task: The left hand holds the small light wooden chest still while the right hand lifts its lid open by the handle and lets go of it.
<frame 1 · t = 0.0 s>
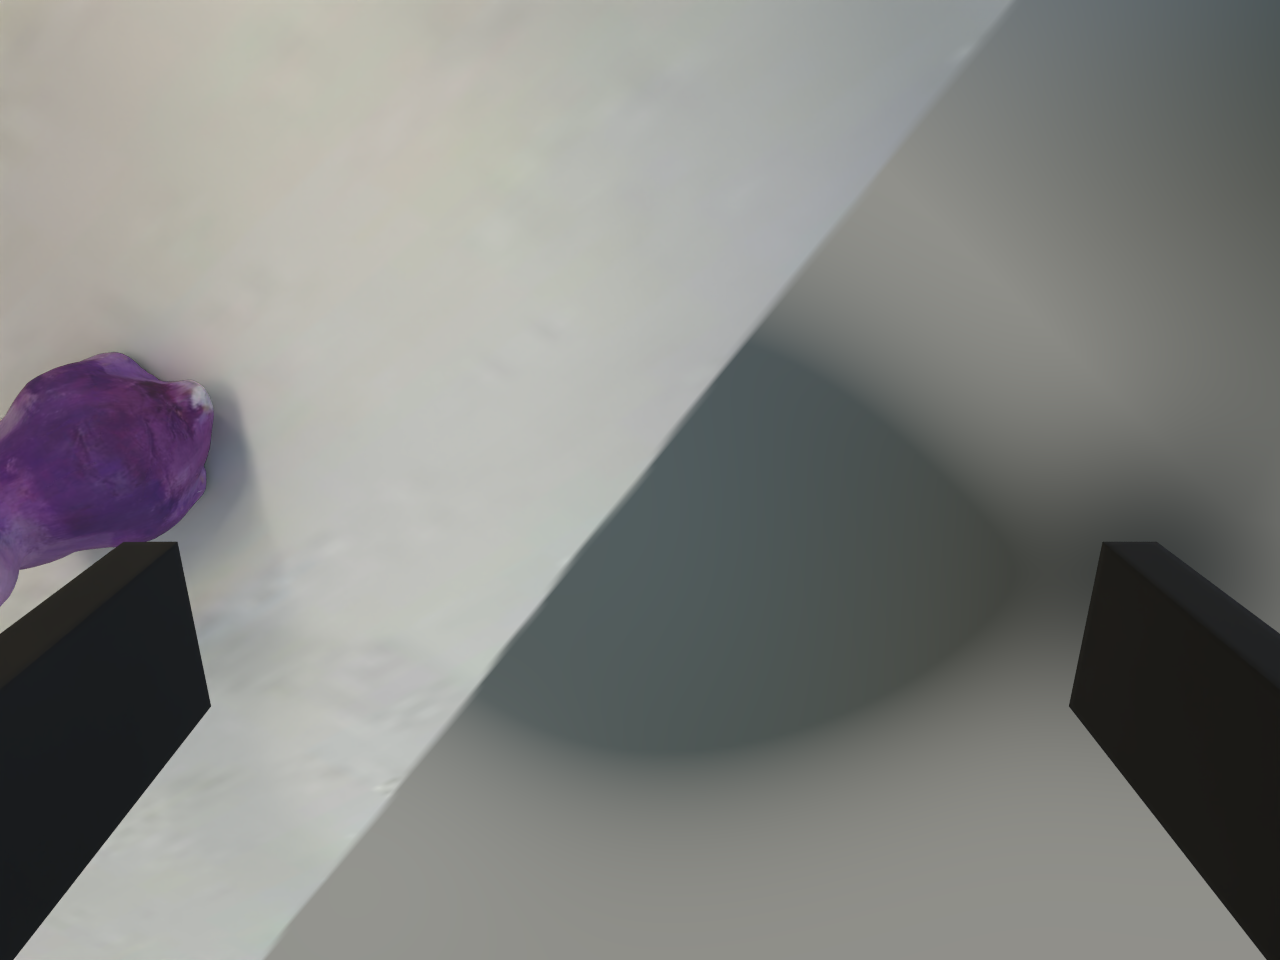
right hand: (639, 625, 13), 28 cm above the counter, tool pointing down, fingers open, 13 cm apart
figurine: (127, 452, 41), on the counter
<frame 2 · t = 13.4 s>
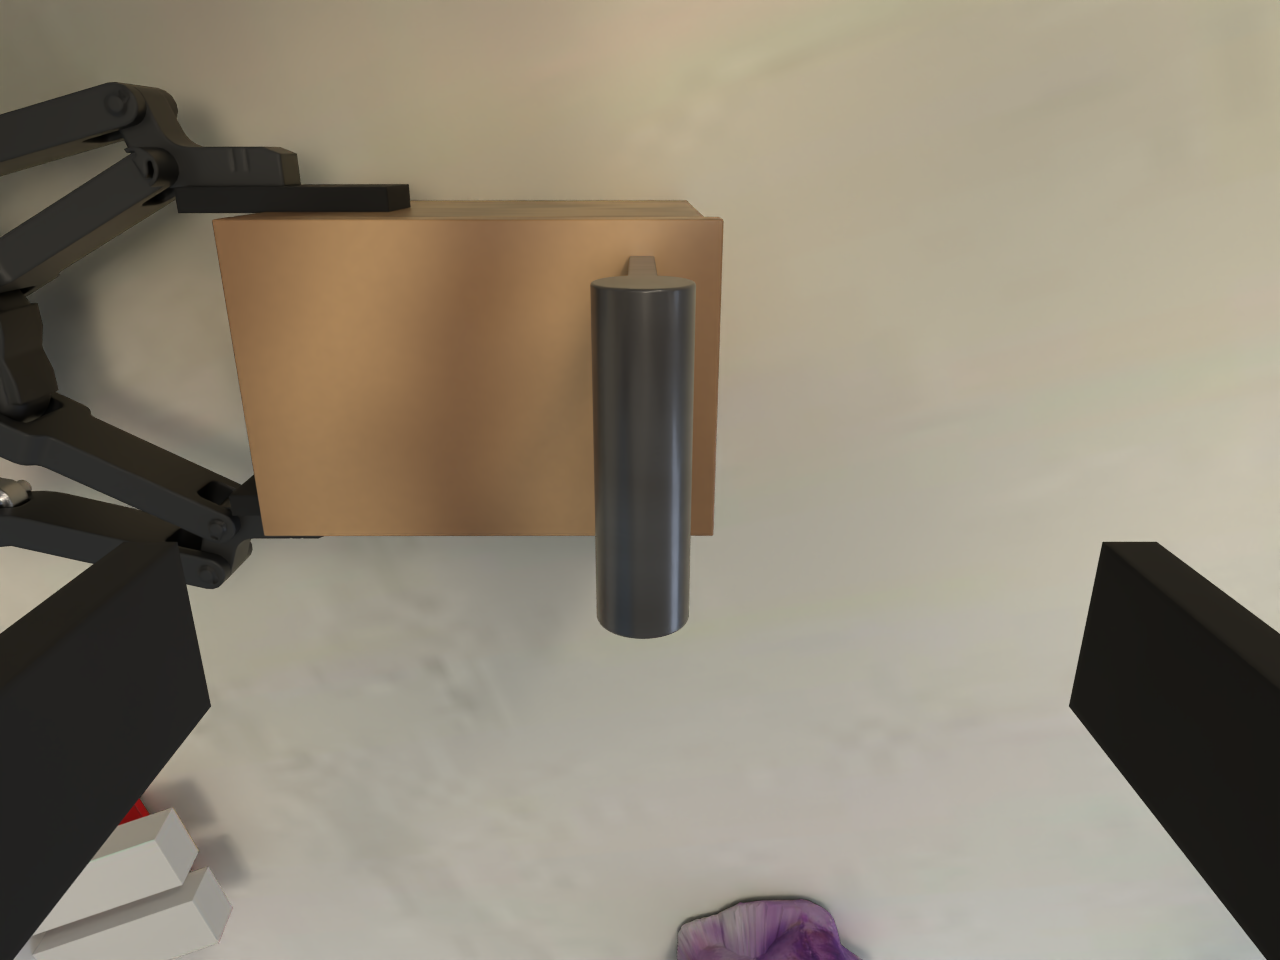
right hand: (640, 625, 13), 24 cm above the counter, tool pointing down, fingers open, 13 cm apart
left hand: (413, 353, 30), fingers closed on chest, 9 cm apart
chest: (519, 321, 35), on the counter, touching left hand
figurine: (755, 951, 47), on the counter
lid: (457, 419, 22), point 14 cm above the counter, hinge at 0.0°
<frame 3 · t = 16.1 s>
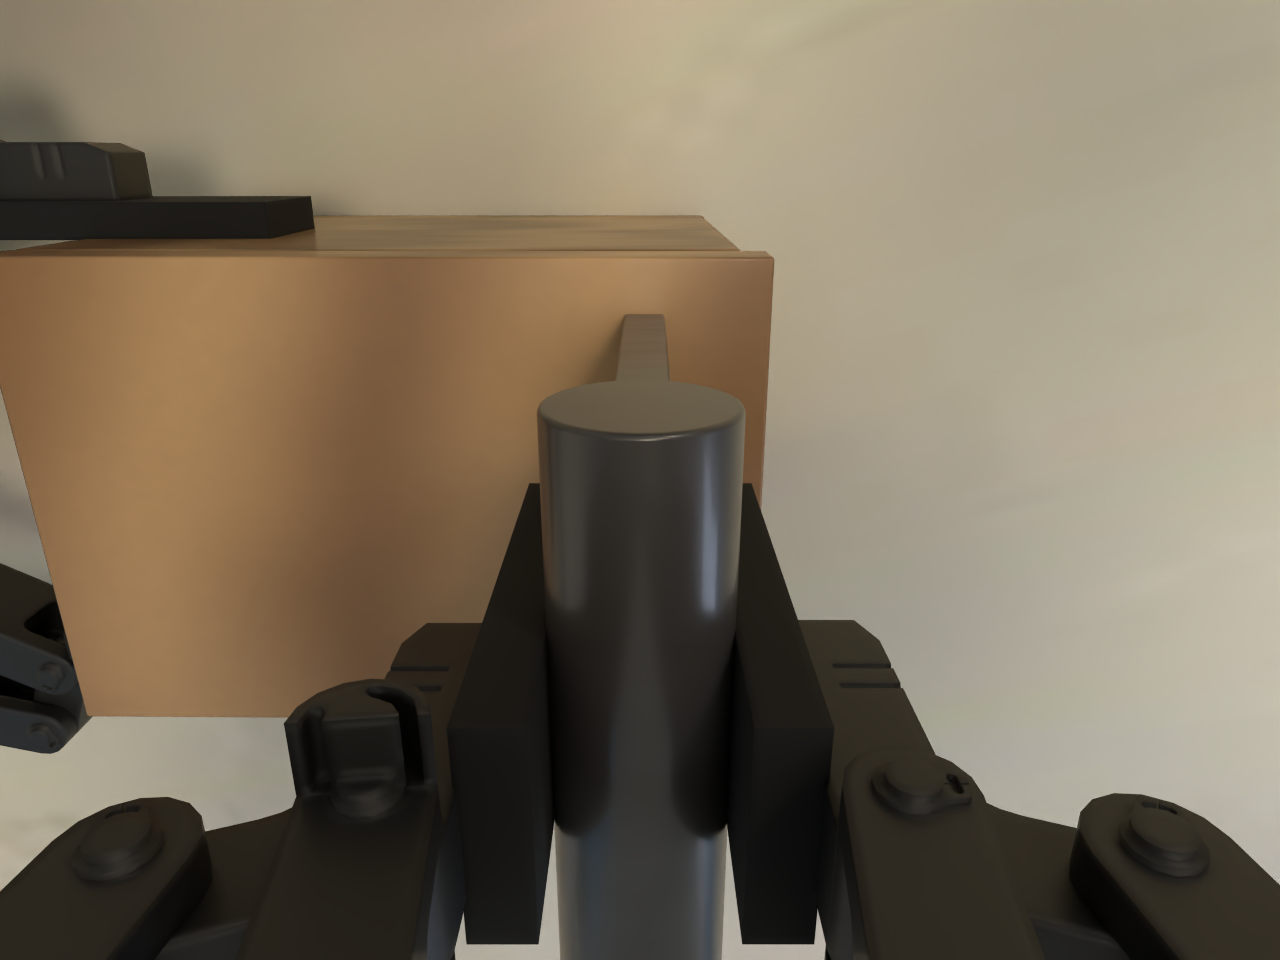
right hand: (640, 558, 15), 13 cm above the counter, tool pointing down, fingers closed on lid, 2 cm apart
chest: (479, 374, 27), on the counter, touching left hand
lid: (338, 590, 13), point 14 cm above the counter, hinge at 1.1°, touching right hand
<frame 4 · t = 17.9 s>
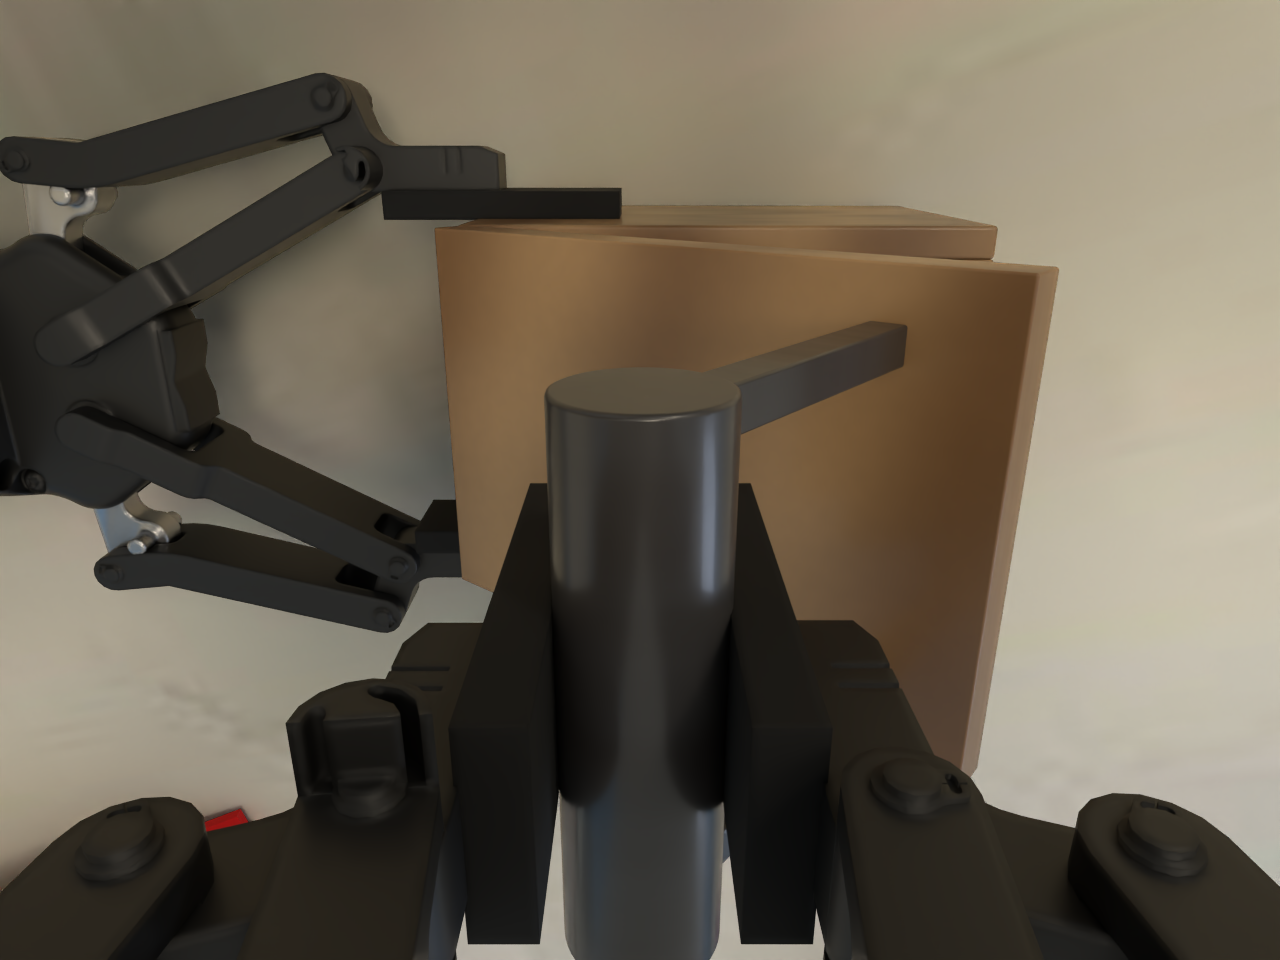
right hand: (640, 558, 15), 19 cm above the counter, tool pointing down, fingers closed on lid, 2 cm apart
left hand: (621, 374, 27), fingers closed on chest, 9 cm apart
chest: (704, 337, 32), on the counter, touching left hand
toy: (77, 924, 43), on the counter
lid: (552, 520, 16), point 18 cm above the counter, hinge at 37.8°, touching right hand
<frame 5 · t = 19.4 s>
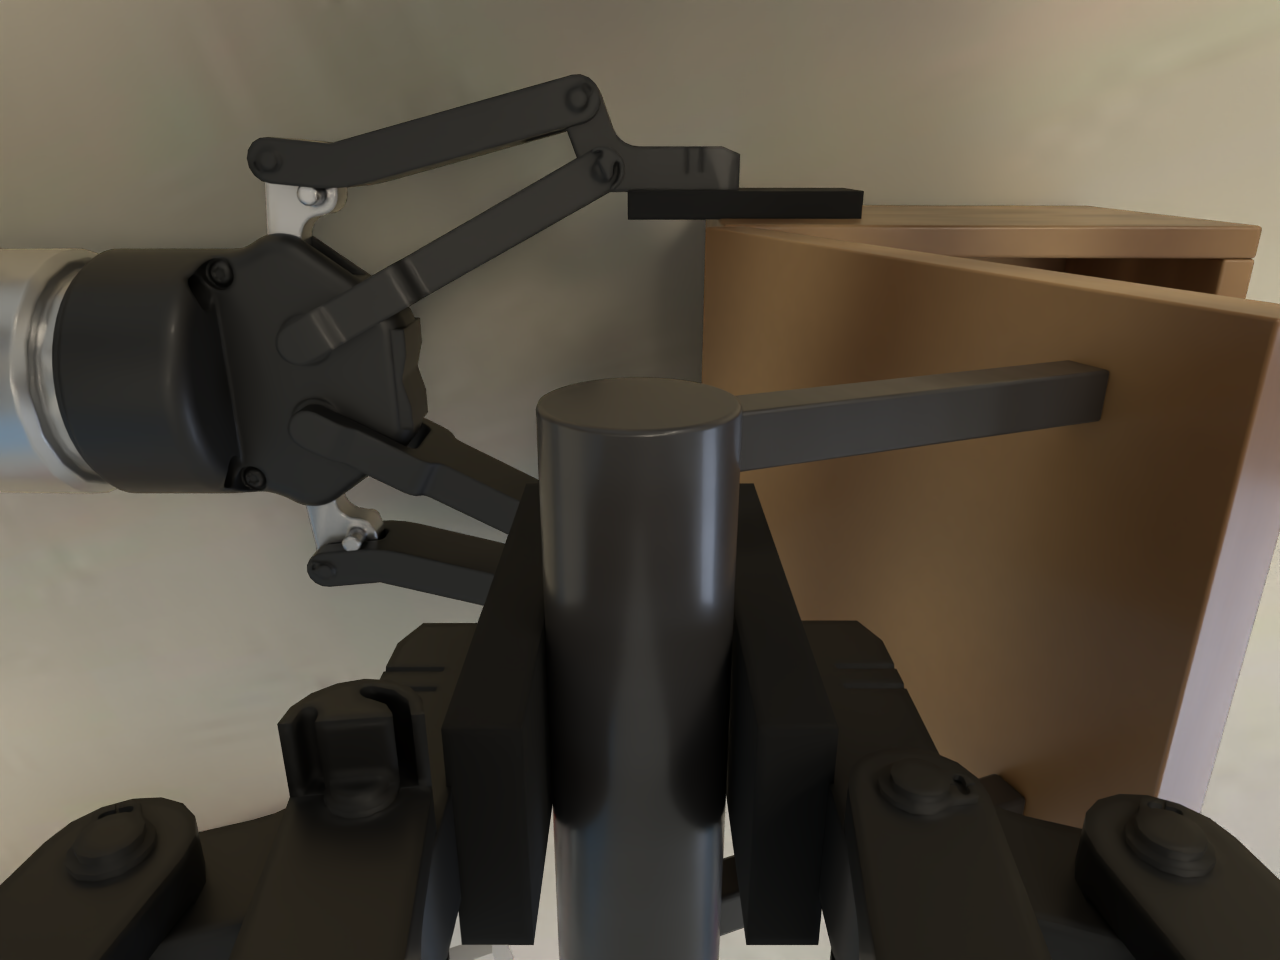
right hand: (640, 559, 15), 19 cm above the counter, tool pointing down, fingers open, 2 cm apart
left hand: (837, 373, 27), fingers closed on chest, 9 cm apart
chest: (882, 336, 33), on the counter, touching left hand
toy: (216, 918, 43), on the counter
lid: (705, 527, 16), point 18 cm above the counter, hinge at 66.6°
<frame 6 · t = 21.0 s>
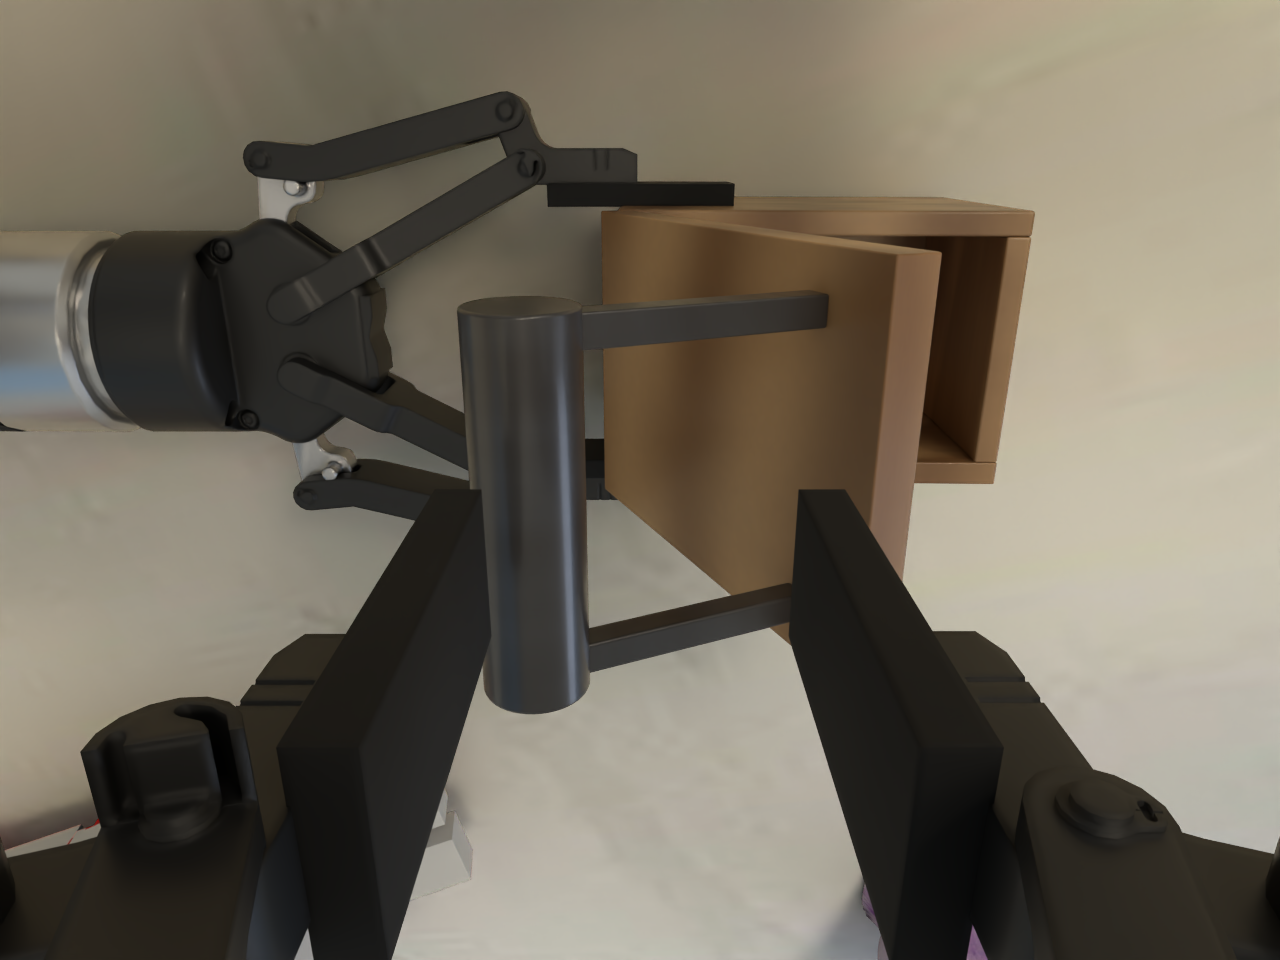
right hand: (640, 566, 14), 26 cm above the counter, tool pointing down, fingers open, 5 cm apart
left hand: (725, 332, 33), fingers closed on chest, 9 cm apart
chest: (778, 307, 39), on the counter, touching left hand
toy: (213, 824, 49), on the counter
figurine: (933, 894, 51), on the counter
lid: (591, 424, 22), point 18 cm above the counter, hinge at 63.8°
when the left hand's fingers open (6 cm above the counter, at t = 23.5 s): chest stays where it is, on the counter.
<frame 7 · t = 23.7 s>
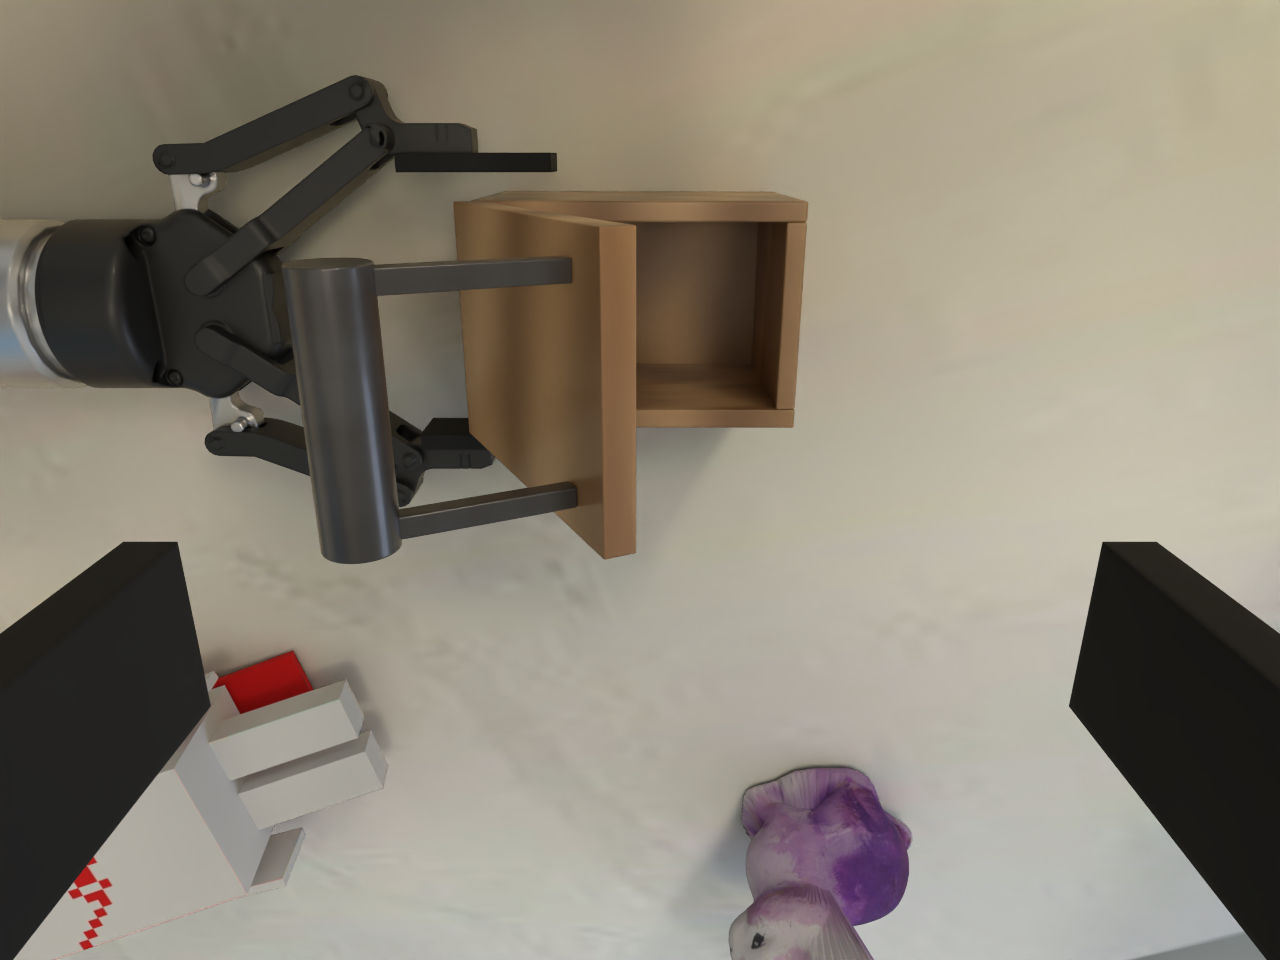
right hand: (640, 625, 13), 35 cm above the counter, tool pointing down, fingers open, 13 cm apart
left hand: (559, 305, 40), fingers open, 11 cm apart
chest: (639, 286, 45), on the counter
toy: (164, 747, 55), on the counter
figurine: (806, 814, 57), on the counter
lid: (423, 365, 28), point 18 cm above the counter, hinge at 63.3°
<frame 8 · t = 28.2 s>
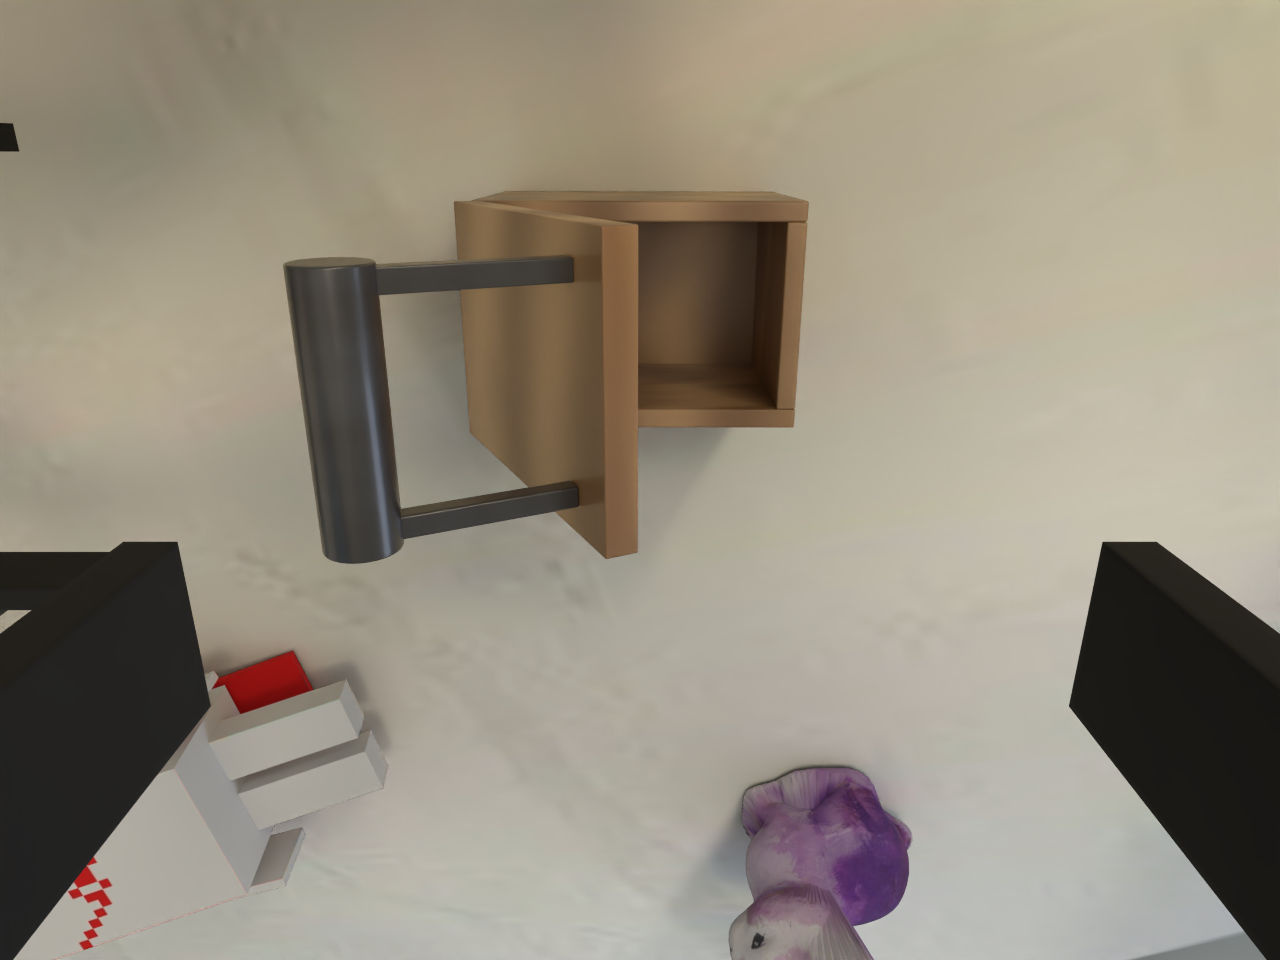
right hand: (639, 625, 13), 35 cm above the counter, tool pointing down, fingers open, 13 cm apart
chest: (639, 286, 45), on the counter
toy: (164, 747, 55), on the counter
figurine: (806, 814, 57), on the counter
lid: (424, 364, 28), point 18 cm above the counter, hinge at 63.3°
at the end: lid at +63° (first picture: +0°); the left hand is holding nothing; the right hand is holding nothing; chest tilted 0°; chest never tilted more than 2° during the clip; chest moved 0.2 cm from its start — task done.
